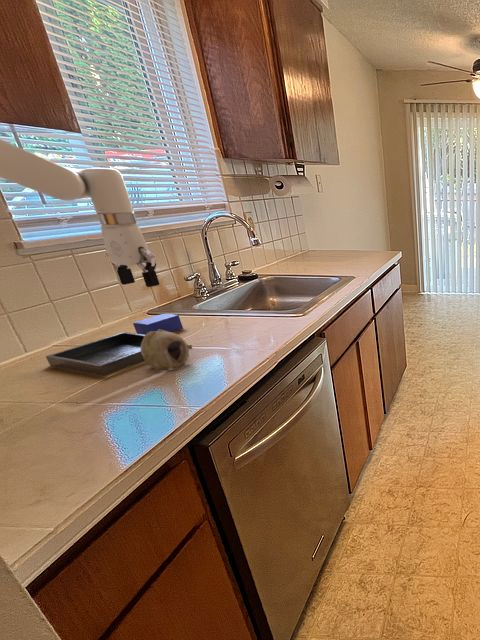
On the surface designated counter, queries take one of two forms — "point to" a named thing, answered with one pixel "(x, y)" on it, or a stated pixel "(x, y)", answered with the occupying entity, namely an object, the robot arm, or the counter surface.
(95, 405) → the counter surface
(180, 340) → the beige rounded hollow piece
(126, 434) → the counter surface
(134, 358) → the tray
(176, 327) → the blue block
